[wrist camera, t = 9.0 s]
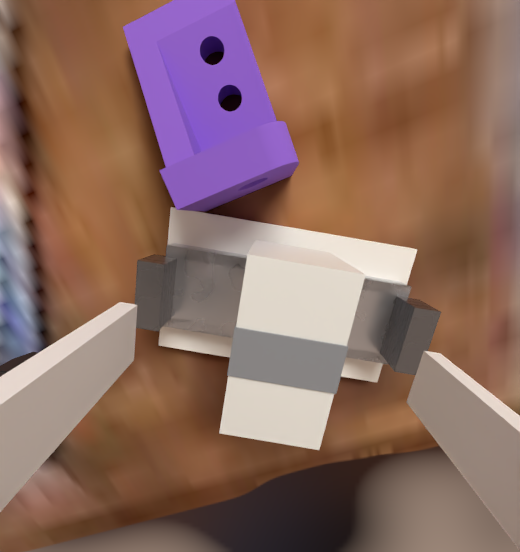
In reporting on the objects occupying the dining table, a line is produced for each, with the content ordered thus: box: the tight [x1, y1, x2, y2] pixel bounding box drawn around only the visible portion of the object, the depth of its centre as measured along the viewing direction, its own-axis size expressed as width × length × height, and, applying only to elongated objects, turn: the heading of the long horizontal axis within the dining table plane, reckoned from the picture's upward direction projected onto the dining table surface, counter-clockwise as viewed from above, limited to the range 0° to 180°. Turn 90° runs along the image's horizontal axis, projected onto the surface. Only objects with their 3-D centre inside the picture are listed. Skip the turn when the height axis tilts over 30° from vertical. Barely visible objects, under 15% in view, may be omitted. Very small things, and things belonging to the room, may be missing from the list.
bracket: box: [123, 0, 299, 212], centre depth 16 cm, size 12×7×7 cm, turn 22°
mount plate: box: [159, 207, 417, 382], centre depth 21 cm, size 18×11×1 cm, turn 81°
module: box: [219, 240, 366, 450], centre depth 15 cm, size 5×9×7 cm, turn 171°
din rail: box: [135, 243, 441, 375], centre depth 18 cm, size 19×6×4 cm, turn 81°
